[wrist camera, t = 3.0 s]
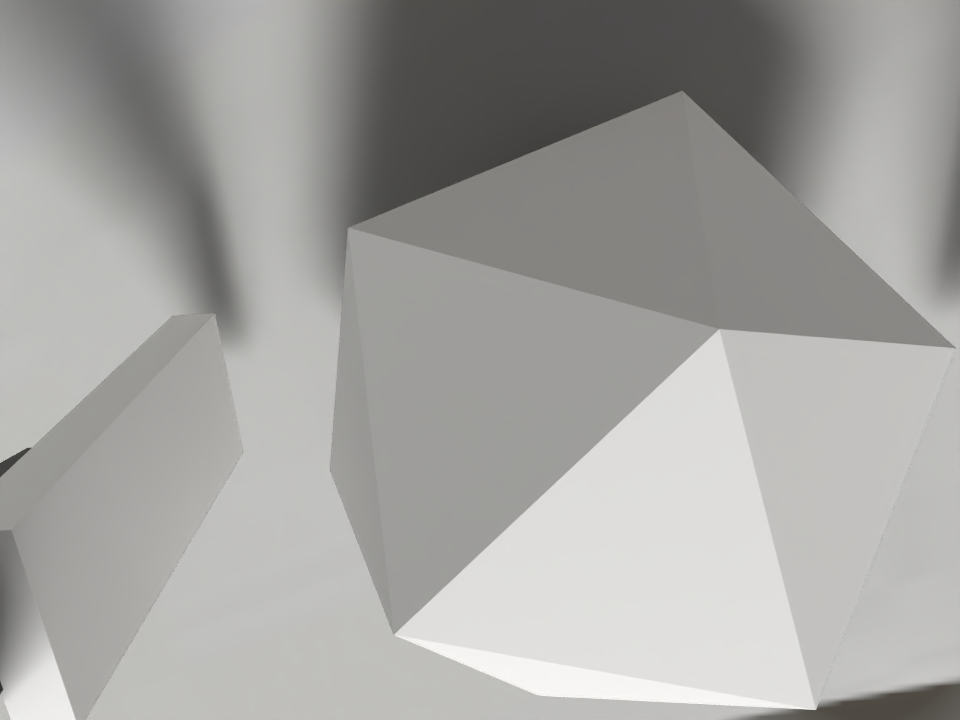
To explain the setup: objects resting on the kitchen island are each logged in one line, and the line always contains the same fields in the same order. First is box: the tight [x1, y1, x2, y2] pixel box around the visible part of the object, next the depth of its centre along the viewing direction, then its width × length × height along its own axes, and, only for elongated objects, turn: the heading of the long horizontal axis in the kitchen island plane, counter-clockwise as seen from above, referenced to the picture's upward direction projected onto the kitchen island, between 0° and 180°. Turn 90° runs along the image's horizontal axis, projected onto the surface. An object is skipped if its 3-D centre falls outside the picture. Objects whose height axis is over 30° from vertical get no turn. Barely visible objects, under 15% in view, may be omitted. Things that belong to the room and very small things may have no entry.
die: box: [330, 91, 956, 710], centre depth 13 cm, size 8×9×10 cm
